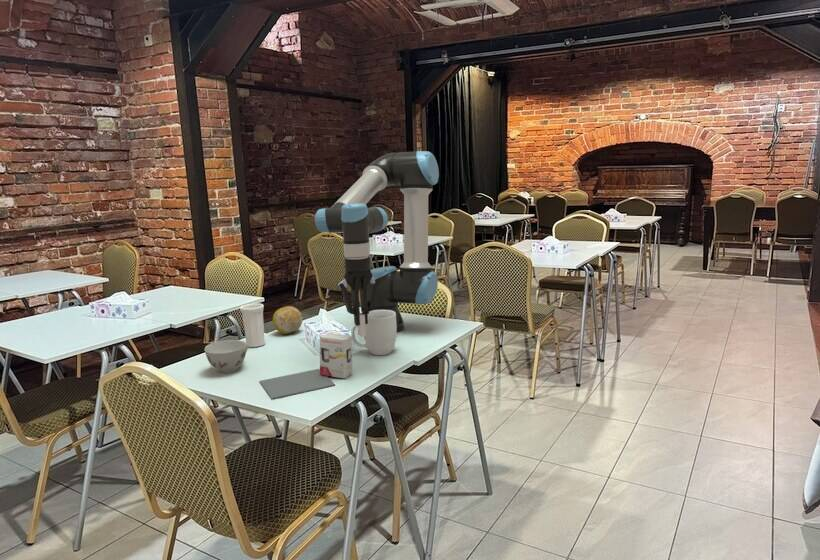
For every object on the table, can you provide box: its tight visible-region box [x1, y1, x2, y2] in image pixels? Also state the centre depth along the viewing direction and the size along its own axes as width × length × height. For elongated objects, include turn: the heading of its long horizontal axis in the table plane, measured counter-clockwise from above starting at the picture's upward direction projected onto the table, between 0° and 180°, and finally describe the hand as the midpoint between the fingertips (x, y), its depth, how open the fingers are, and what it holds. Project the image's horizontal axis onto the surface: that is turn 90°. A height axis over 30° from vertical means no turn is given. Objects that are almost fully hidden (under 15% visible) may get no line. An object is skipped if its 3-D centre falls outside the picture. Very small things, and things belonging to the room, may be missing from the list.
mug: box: [350, 310, 398, 356], centre depth 189 cm, size 15×11×13 cm
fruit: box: [272, 305, 303, 335], centre depth 216 cm, size 10×11×10 cm
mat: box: [259, 368, 336, 400], centre depth 166 cm, size 18×15×1 cm
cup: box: [239, 303, 266, 348], centre depth 203 cm, size 8×8×14 cm
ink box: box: [319, 332, 353, 379], centre depth 170 cm, size 9×5×12 cm, turn 68°
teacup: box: [204, 339, 249, 374], centre depth 181 cm, size 15×12×8 cm
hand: (361, 335), depth 173 cm, fingers closed
